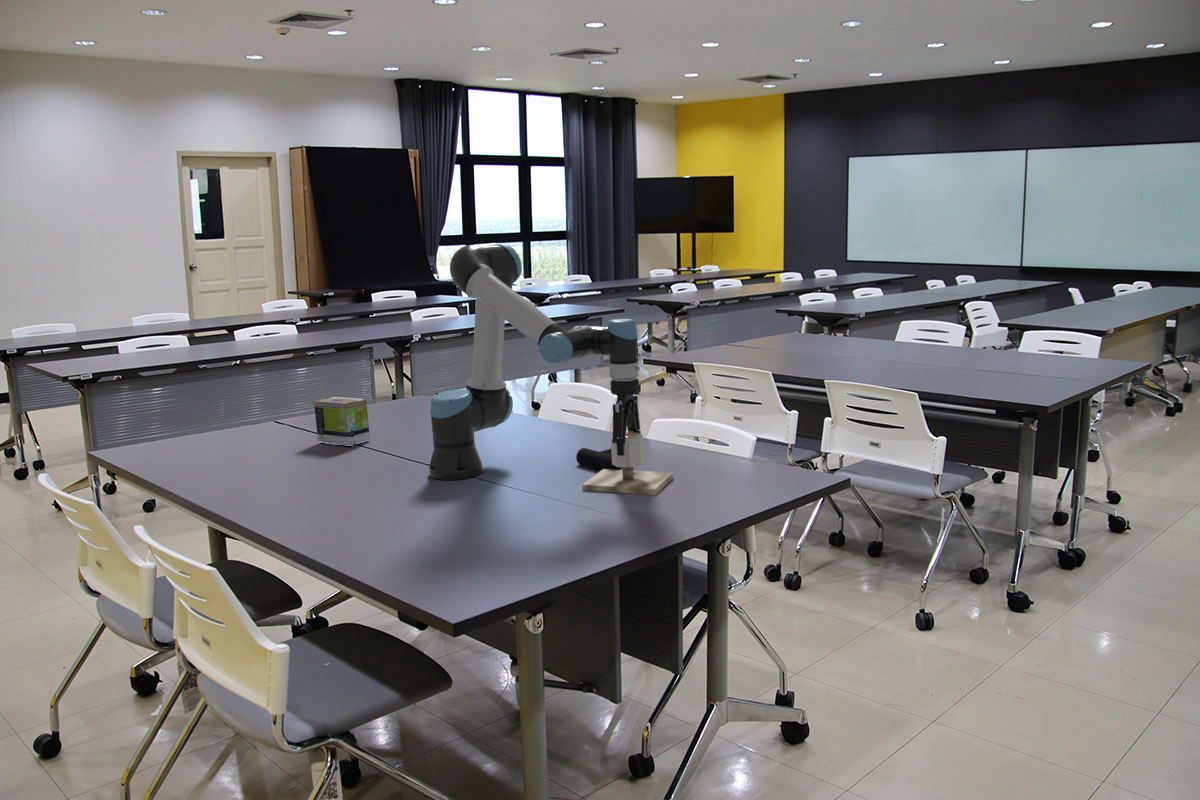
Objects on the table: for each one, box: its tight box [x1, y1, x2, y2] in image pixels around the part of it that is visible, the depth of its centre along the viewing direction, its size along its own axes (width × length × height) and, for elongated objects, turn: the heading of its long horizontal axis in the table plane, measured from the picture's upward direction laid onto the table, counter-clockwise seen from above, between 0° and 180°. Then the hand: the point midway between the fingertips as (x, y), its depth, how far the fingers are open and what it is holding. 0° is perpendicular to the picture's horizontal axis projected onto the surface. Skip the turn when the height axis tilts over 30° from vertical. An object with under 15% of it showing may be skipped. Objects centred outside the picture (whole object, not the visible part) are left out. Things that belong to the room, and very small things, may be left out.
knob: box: [610, 431, 645, 468], centre depth 253 cm, size 8×8×8 cm
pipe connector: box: [575, 447, 622, 471], centre depth 274 cm, size 12×5×15 cm
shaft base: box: [582, 467, 674, 496], centre depth 254 cm, size 20×16×6 cm
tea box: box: [313, 396, 371, 445], centre depth 316 cm, size 15×10×15 cm
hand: (627, 462), depth 254 cm, fingers closed on knob, 8 cm apart
